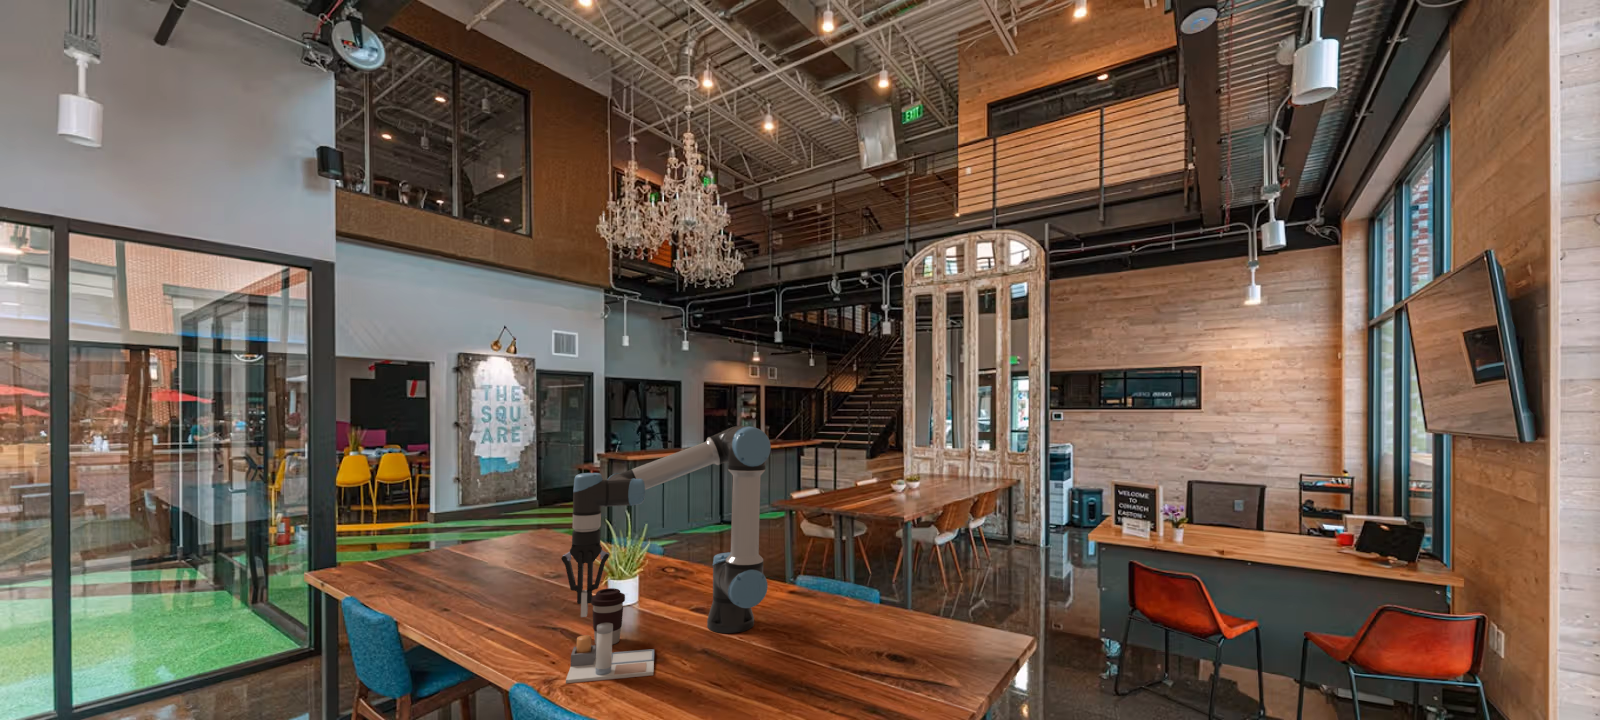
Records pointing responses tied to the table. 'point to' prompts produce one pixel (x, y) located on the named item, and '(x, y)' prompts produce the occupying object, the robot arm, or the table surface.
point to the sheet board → (620, 667)
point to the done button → (584, 644)
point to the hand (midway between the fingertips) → (584, 615)
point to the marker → (604, 648)
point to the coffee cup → (608, 611)
